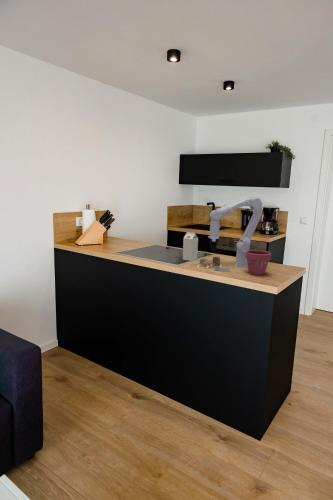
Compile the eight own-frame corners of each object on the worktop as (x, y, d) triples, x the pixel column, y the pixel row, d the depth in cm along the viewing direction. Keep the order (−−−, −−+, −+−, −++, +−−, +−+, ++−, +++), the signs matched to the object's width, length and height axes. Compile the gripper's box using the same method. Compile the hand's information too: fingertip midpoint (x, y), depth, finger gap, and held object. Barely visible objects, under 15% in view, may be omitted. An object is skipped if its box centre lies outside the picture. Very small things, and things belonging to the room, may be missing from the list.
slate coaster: (229, 268, 210) (229, 268, 210) (230, 272, 201) (230, 271, 201) (215, 267, 211) (215, 267, 211) (214, 271, 203) (214, 270, 202)
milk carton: (188, 258, 237) (189, 231, 233) (197, 259, 232) (198, 232, 229) (182, 259, 231) (183, 232, 228) (191, 261, 227) (192, 233, 223)
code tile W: (221, 265, 219) (221, 264, 219) (221, 267, 213) (221, 266, 212) (210, 264, 220) (210, 263, 220) (210, 266, 214) (210, 266, 214)
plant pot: (264, 270, 208) (266, 249, 206) (272, 276, 194) (274, 254, 192) (241, 270, 208) (243, 249, 205) (247, 276, 194) (249, 254, 191)
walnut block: (219, 264, 218) (220, 257, 217) (219, 266, 214) (220, 258, 213) (212, 264, 219) (213, 256, 218) (212, 265, 215) (212, 258, 214)
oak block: (206, 265, 215) (207, 257, 214) (206, 267, 210) (206, 259, 209) (199, 265, 215) (200, 257, 214) (199, 266, 211) (199, 259, 210)
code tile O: (208, 266, 216) (208, 265, 216) (208, 268, 209) (208, 267, 209) (197, 265, 217) (197, 264, 217) (196, 267, 210) (196, 267, 210)
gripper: (208, 227, 221) (208, 248, 224) (207, 230, 207) (206, 252, 210) (219, 228, 220) (218, 249, 222) (219, 231, 206) (218, 253, 208)
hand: (213, 250), depth 216 cm, fingers open, 7 cm apart
